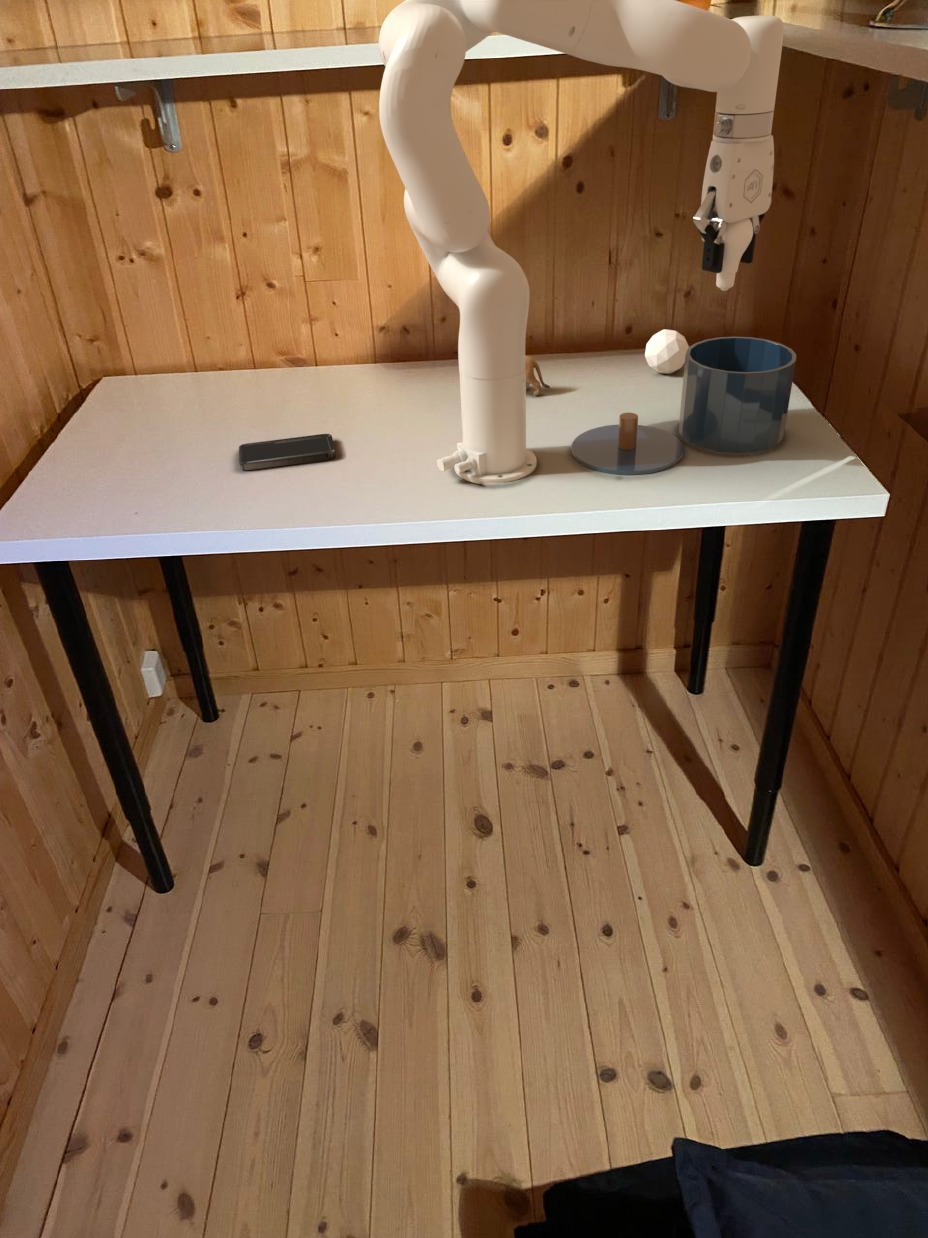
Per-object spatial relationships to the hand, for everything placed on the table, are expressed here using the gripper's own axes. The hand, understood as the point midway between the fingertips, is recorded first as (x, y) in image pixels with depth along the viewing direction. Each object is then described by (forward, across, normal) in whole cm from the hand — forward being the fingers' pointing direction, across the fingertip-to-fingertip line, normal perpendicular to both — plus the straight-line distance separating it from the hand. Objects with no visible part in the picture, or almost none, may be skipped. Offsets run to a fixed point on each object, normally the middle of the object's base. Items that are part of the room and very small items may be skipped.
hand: (727, 264), depth 133 cm
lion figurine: (+26, -13, +35) cm, 45 cm away
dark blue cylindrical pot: (+26, +1, -3) cm, 26 cm away
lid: (+25, -16, +3) cm, 30 cm away
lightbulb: (+4, 0, 0) cm, 4 cm away
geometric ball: (+26, +14, +22) cm, 37 cm away
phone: (+25, -55, +39) cm, 73 cm away
